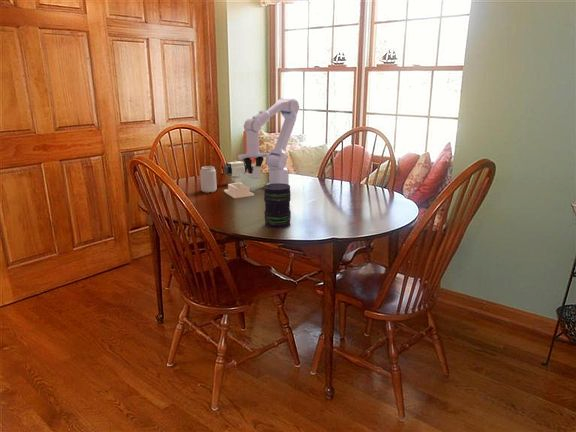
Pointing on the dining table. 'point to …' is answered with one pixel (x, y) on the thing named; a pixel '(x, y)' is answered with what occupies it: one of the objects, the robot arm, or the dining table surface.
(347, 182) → the dining table surface
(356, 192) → the dining table surface
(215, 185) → the can
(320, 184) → the dining table surface
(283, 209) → the storage jar
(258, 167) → the grey block
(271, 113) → the robot arm
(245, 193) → the hollow block
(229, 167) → the pneumatic valve
